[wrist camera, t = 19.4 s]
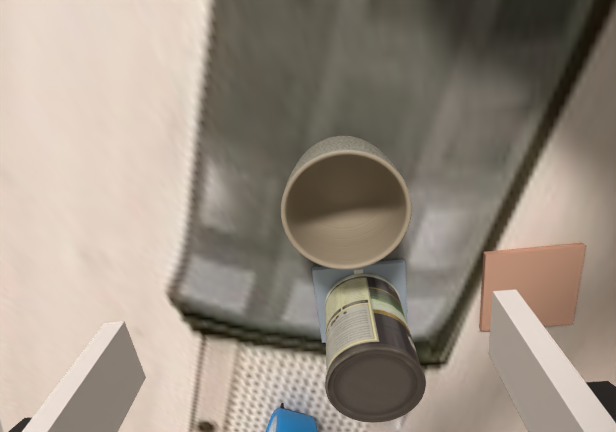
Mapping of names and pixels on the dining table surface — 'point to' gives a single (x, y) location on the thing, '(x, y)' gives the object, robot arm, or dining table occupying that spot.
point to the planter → (345, 204)
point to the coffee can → (370, 351)
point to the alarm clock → (290, 422)
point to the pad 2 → (535, 280)
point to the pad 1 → (329, 276)
